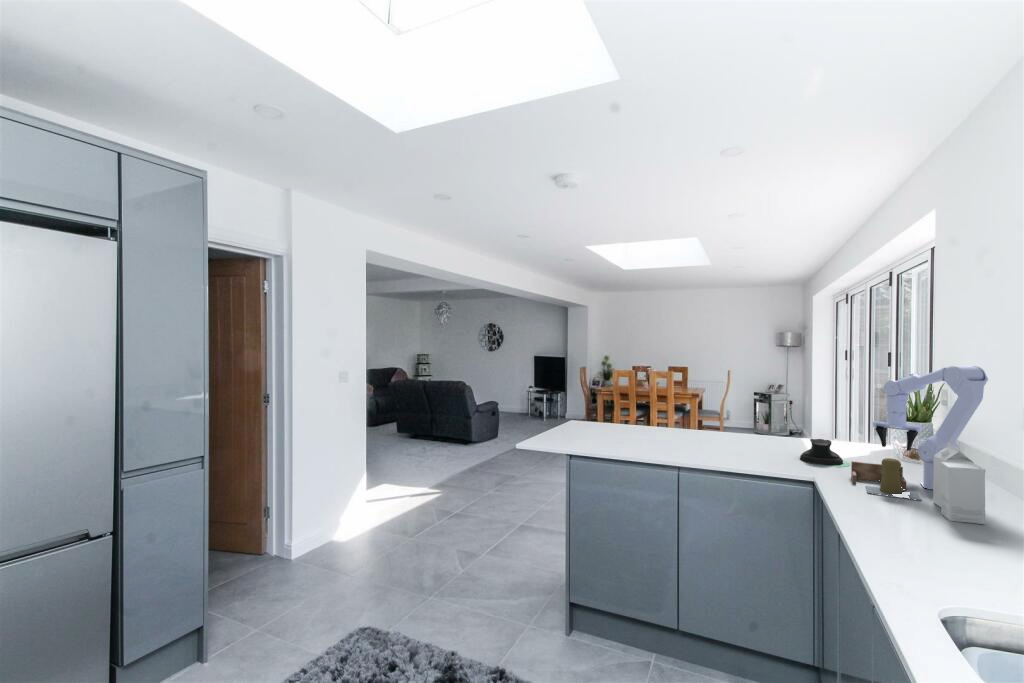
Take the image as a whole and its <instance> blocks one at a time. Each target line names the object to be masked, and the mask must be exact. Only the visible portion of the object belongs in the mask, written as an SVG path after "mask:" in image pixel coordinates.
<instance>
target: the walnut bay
mask: <svg viewBox="0 0 1024 683" xmlns="http://www.w3.org/2000/svg"><path fill="white" fill-rule="evenodd" d="M850 466H851V473H850V474H851V477H850V478H851V481H852V484H853V483H855V485H857V478H859V480H865V479H870V480H869V481H873V480H880V481H879V482H881V479H882V474H883V466H882V463H880V464H879V463H871V462H861V461H851V463H850ZM903 470H904V467H903V466H901V468H900V469H899V474H900V481H901V487H902V489H906V490H907V480H906V478H905V477H904V476H903V473H904V472H903Z"/></svg>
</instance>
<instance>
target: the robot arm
mask: <svg viewBox="0 0 1024 683" xmlns="http://www.w3.org/2000/svg"><path fill="white" fill-rule="evenodd" d="M988 381H989V378H988V376H987V374H986V372H985V370H984V369H983V368H982V367H980V366H976V365H975V366H974V365H972V366H956V365H950V366H948V367H942V368H940V369H937V370H935V371H932V372H928V373H927V374H924V375H920V374H918V373H917V374H916V373H909V374H908V376H906V377H899V378H897V380H892V379H891V380H888V381H886V382H884V384H883V392H884V393H885V395H887V400H886V403H887V404H886V405H887V406H886V408H887V410H886V411H887V413H886V420H887V421H876V420H874V421H872V427H874V428H875V429H874V430H875V432H876V433H877V435H878V436H879V440H880V442H881V447H882V448H885V447H887V430H888V429H891V430H892V429H894V430H900V431H901V430H902V431H906V432H905V433H906V441H907V442H906V451H909V452H910V451H911V450H912V446H913V443H914V441H915V439H916V437H917V435H918V434H919V433H921V432H922V426H919V425H913V424H907V401H908V399H909V395H910V394H911V393H914V392H915V393H916V392H918V391H922V390H924V389H925V388H926V387H927V385H931V384H934V383H940V382H945V383H946V384H947V385H948V386H949V388H950V389H951V390H952V391H953V392H954V394H955V395H956V396H957V398H956V400H955V401H954V403H953V405H952V406H951V408H950V409H949V411H948V413H947V415H946V417H945V418H944V420H943V421H942V423H941V425H940V426H939V427H938V429H937V430H936V433H935V434H933V435H932V436H930V437H928V438H926V440H924V442H923V443H921V444H919V445H918V448H917V454H918V456H919V458H920V459H921V462H923V475H922V476H923V479H922V480H923V481H920V482H919V483H920V485H921V486H922V488H923V487H924V488H923V489H925V488H927V489H926V490H933V479H934V455H935V454H937V453H938V452H940V450H942V449H944V448H946V447H947V443H948V444H951V445H953V446H956V447H959V448H960V445H959V444H958V442H957V440H958V439H959V437H960V436H961V434H962V432H963V431H964V429H965V428H966V426H967V424H968V423H969V421H970V420H971V418H972V417H973V415H974V414H975V412H976V411H977V409H978V408H979V406H980V405H981V402H982V401H983V400H984V391H985V385H986V384H987V382H988Z"/></svg>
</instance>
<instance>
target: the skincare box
mask: <svg viewBox="0 0 1024 683" xmlns="http://www.w3.org/2000/svg"><path fill="white" fill-rule="evenodd" d="M940 509H941V511H940V513H941V515H942V516H943V515H944V518H946V519H947V520H948V521H949V522H960V523H966V524H967V523H969V524H977V525H986V469H985V468H983V467H981V466H979V465H977V464H976V463H974V464H962V463H947V462H941V507H940Z"/></svg>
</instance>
